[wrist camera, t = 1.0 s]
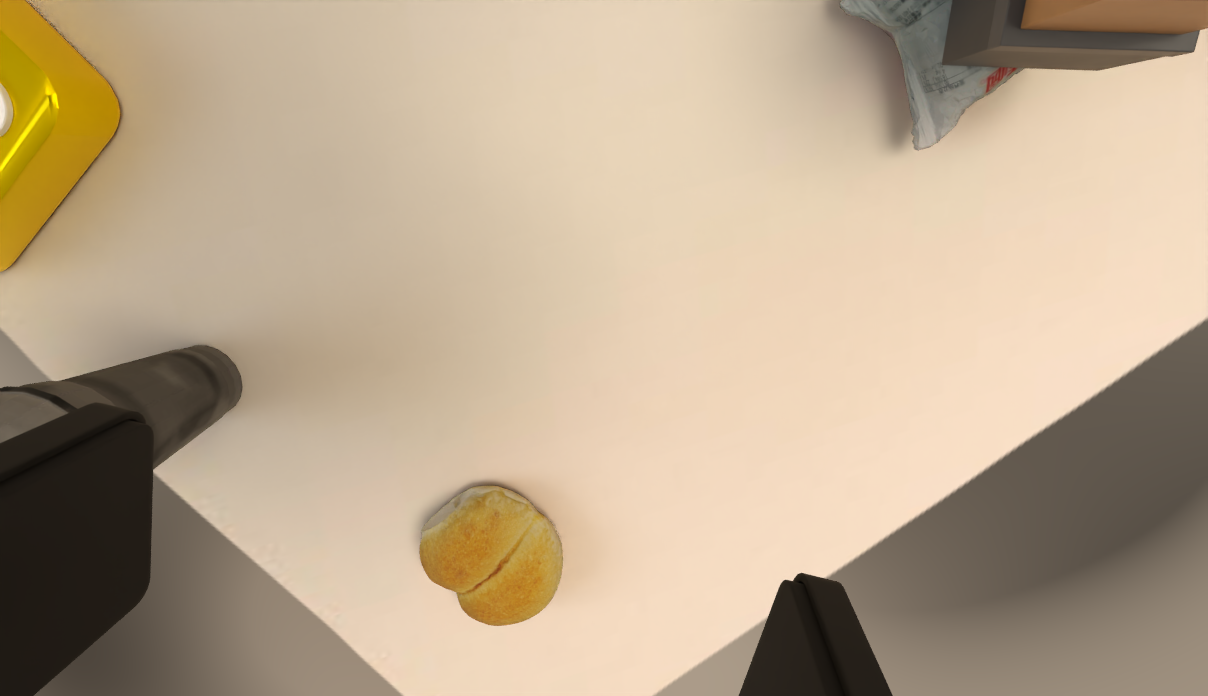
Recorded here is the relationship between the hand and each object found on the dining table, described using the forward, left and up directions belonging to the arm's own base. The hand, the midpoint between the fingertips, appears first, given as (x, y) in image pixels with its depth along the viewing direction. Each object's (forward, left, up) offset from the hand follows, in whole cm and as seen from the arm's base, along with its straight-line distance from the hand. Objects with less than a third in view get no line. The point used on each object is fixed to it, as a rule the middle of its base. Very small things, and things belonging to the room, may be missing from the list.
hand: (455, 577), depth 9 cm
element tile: (+2, -37, -28) cm, 47 cm away
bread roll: (+19, -1, -28) cm, 34 cm away
